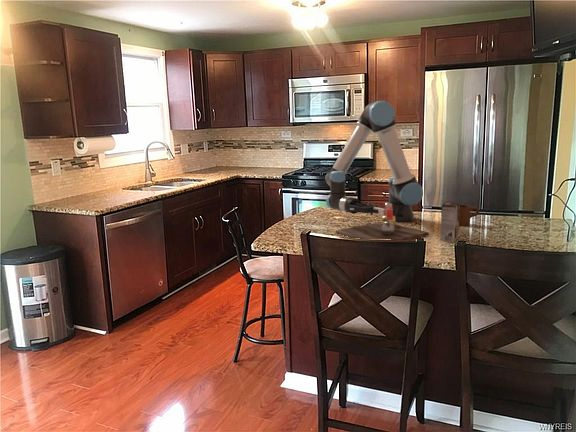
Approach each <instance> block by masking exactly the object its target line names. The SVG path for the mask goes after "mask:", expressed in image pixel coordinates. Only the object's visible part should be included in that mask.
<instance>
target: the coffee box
mask: <svg viewBox="0 0 576 432" xmlns="http://www.w3.org/2000/svg"><path fill="white" fill-rule="evenodd" d="M460 203H461V202H455V201H445V202H444V203H442V204H441V209H440V210H441V212H440V213H441V217H440V237H439V238H440V241H443V242H452V243H455V242H456V241H457V240H458V238H459V232H460V226H459V212H460V205H461V204H460Z"/></svg>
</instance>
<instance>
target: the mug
mask: <svg viewBox="0 0 576 432" xmlns="http://www.w3.org/2000/svg"><path fill="white" fill-rule="evenodd" d="M472 211H475V212H474V213H473V212H472ZM471 212H472V213H471ZM479 214H480V209H479V207H477V206H470V205H467V204H466V205H465V204H460V212H459V227H468V226H470V223H471V218H474V217H477V216H478V215H479Z"/></svg>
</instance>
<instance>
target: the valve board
mask: <svg viewBox="0 0 576 432" xmlns="http://www.w3.org/2000/svg"><path fill="white" fill-rule="evenodd" d="M381 224H382V221H379V222H374V223H370V224H364V225H359V226H354V227H348V228H344V229H338V230H335V234H336V233H337V234H336V235H338V234H341V235H344V236H343V237H345V236H348V237H349V239H351V238H360V239H391V240H407V241H410V240H411V241H412V240H415V239H420V238H423V237H427V236H430V232H429V231H425V230H420V229H415V228H412V227H409V226H408V227H407V226H404V225H399V224H395V233H394V235H393V236H384V235H383V234H382V232H381ZM341 235H340V236H341ZM348 237H347V238H348Z"/></svg>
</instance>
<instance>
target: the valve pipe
mask: <svg viewBox="0 0 576 432" xmlns="http://www.w3.org/2000/svg"><path fill="white" fill-rule="evenodd" d="M381 222H382V224H381V232H382V234H383V235H384V236H393V235H394V233H395V225H396V221H395V215H393V220H386V215H384V216H383V215H381Z"/></svg>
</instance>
